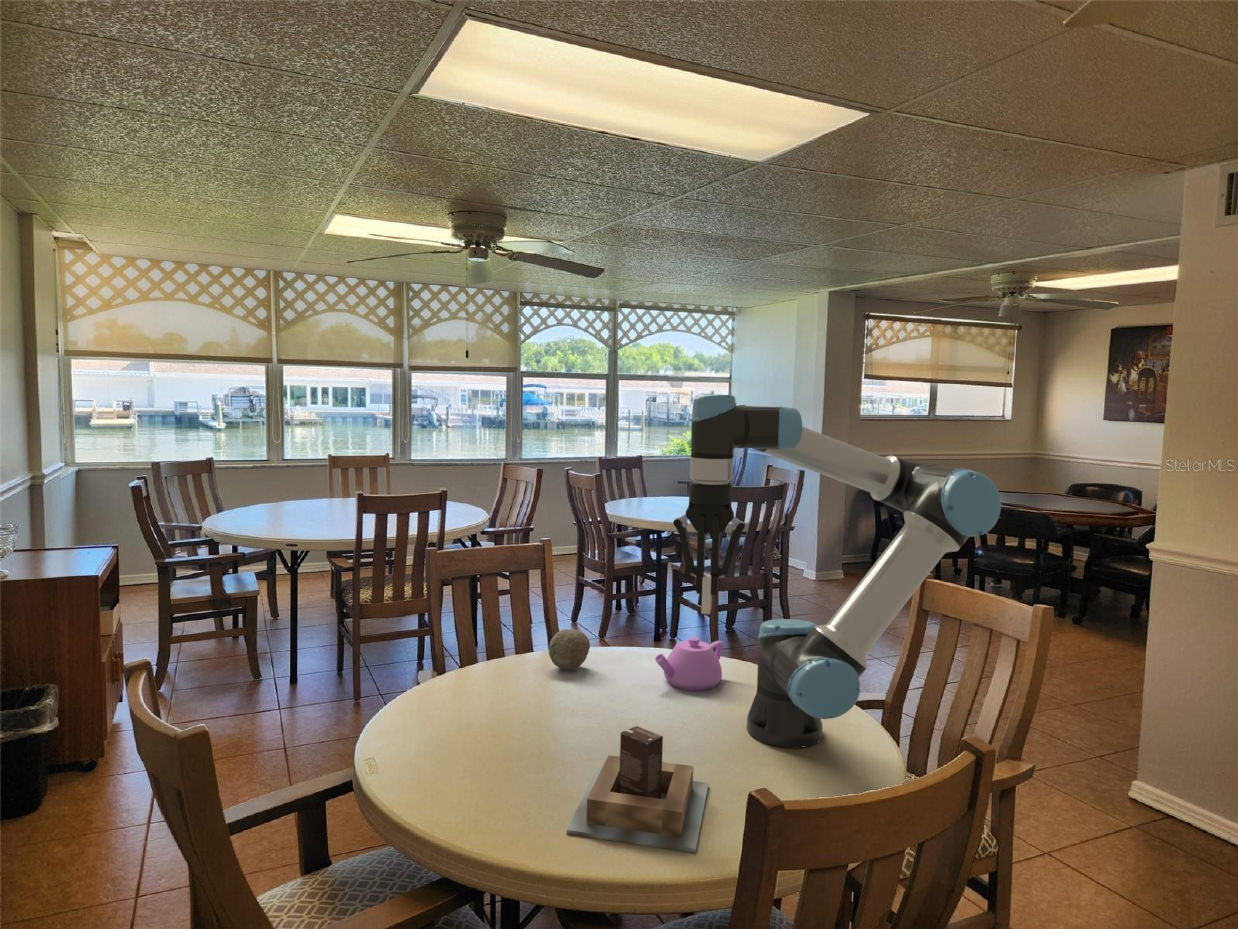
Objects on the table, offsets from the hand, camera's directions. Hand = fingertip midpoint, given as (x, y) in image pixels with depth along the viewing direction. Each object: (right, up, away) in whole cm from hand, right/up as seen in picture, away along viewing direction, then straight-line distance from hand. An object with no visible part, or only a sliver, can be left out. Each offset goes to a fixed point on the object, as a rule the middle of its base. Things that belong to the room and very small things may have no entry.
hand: (706, 611), depth 136 cm
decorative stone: (-28, -25, +51) cm, 63 cm away
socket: (-12, -30, -11) cm, 34 cm away
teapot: (+1, -26, +45) cm, 52 cm away
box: (-12, -30, -11) cm, 34 cm away
